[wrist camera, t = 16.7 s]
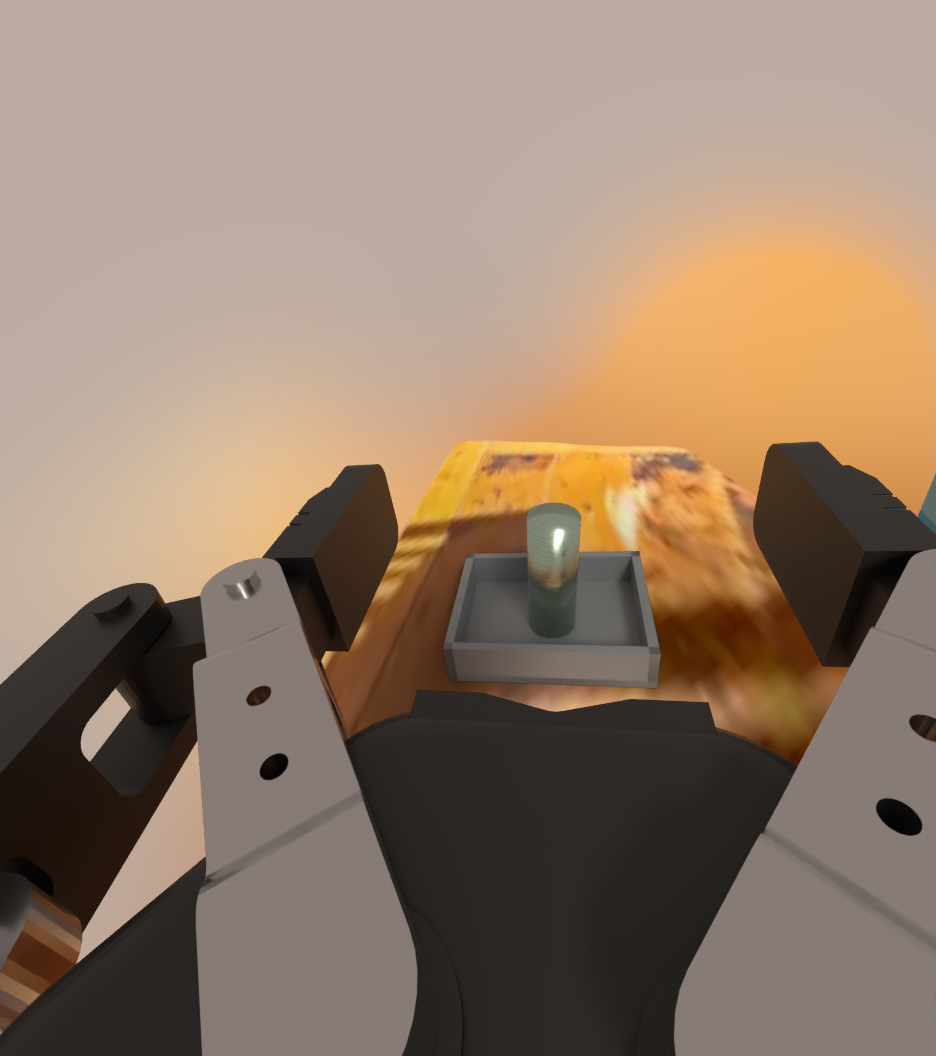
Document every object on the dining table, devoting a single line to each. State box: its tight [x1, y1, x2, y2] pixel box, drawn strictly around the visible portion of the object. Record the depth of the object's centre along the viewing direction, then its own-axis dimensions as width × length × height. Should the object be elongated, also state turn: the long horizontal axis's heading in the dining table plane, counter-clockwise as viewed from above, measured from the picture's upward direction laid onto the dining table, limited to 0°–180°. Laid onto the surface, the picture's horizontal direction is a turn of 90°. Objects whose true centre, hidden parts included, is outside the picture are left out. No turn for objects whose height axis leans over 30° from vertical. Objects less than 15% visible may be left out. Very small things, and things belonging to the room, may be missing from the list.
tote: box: [443, 551, 661, 688], centre depth 48 cm, size 18×14×4 cm
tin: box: [527, 503, 581, 638], centre depth 45 cm, size 4×4×12 cm
